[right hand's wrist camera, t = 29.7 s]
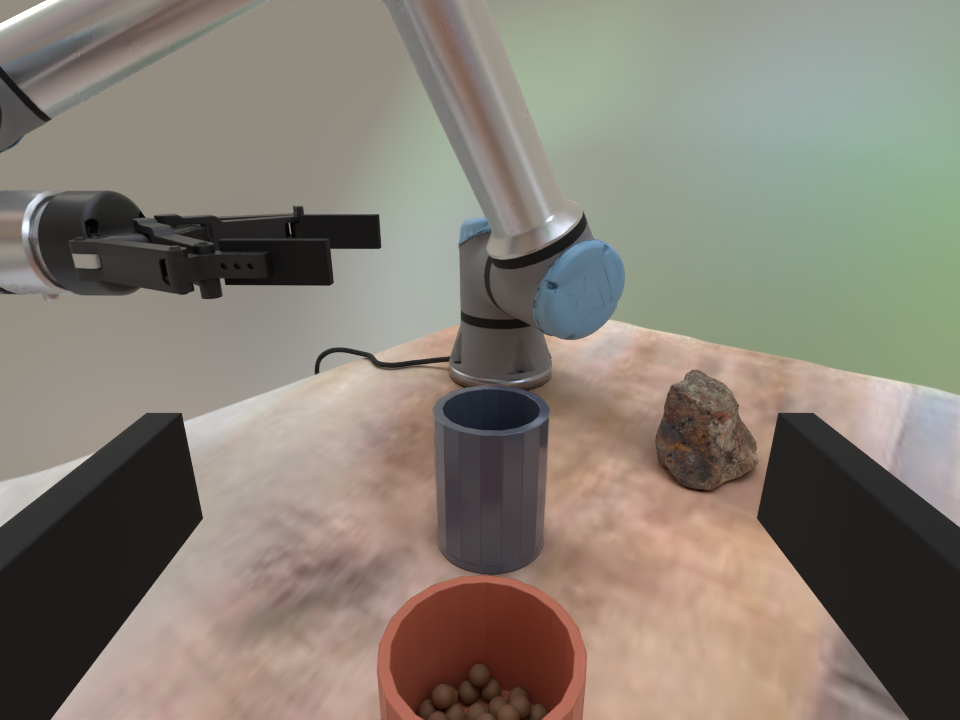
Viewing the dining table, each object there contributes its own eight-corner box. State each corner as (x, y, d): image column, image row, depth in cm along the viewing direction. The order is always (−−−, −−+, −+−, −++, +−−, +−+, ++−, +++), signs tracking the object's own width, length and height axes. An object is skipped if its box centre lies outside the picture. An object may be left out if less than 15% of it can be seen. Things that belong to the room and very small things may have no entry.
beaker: (560, 525, 50) (568, 399, 46) (512, 590, 43) (516, 447, 38) (473, 495, 54) (472, 377, 50) (415, 549, 47) (409, 417, 43)
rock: (627, 468, 60) (715, 510, 53) (630, 397, 57) (725, 431, 50) (698, 419, 69) (783, 450, 62) (705, 355, 66) (795, 379, 58)
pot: (601, 736, 32) (614, 619, 29) (524, 934, 24) (530, 799, 21) (454, 661, 37) (451, 553, 34) (347, 805, 29) (332, 680, 26)
